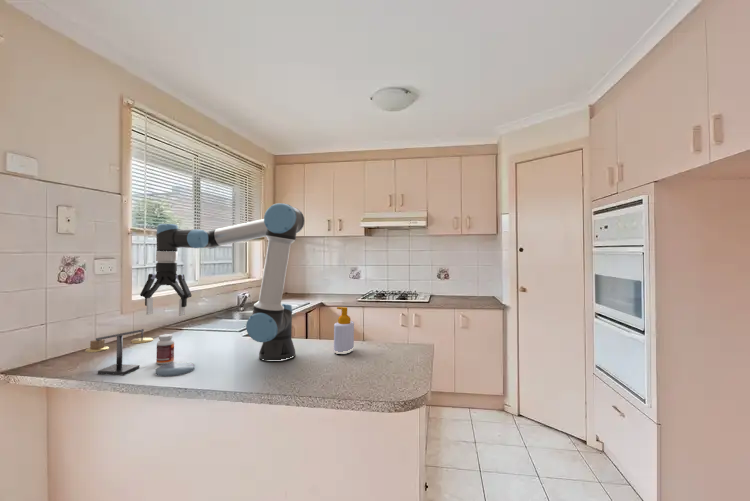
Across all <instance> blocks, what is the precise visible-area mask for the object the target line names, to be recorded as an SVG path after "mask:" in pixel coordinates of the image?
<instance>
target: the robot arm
mask: <svg viewBox="0 0 750 501" xmlns="http://www.w3.org/2000/svg"><path fill="white" fill-rule="evenodd" d="M305 222H306V221H305V216H304V214H303V212H302V211H301V210H300V209H299V208H297V207H294V206H292V205H290V204H287V203H280V202H278V203H277V202H276V203H274V204H272V205H270V206H269V207H268V208H267V210H265V212H264V215H263V218H262V219H257V220H252V221H248V222H243V223H238V224H235V225H229V226H224V227H220V228H215V229H211V230H204V229H200V228H199V229H198V228H194V229H193V228H192V229H190V228H187V229H185V228H184V229H183V228H182V229H181V228H179V226H178V224H175V223H174V224H173V223H159V224H157V226H156V234H155V235H156V237H155V238H156V252H155V262H156V263H155V272H156V273H149V274H148V276H147V280H146V282H145V284H144V286H143V287H142V290H141V292H140V297H143V298H144V306H146V314H145V315H151V314H152V315H153V313H154V297H153V296H154V295H155V293H156V291H157V290H158V289H159V288H160V287H161V286H170V287H172V288H173V289H174V291H175V293H176V294H177V295H178V296H179V297H180V299H178V317H179V316H185V312H186V310H185V309H186V307H187V303H188V302H187V300H188V298H191V297H192V292H191V290H190V288H189V286H188V284H187V281H186V279H185V274H183V273H182V274H177V271H178V263H177V261H178V248H183V249H207V250H208V249H209V250H211V249H216V248H218V247H221V246H226V245H231V244H236V243H241V242H245V241H246V242H247V241H250V240H254V239H255V240H256V239H260V238H264V237H265V238H267V240H268V242H267V243H268V244H267V248H266V253H265V254H266V256H265V260H264V268H263V272H262V278H261V284H260V291H259V297H258V301H257V302H255V303H254V304H253V308H252V313H251V314H252V315H250V316H249V318H248V319H247V321H246V325H245V329H246V332H247V335H248V336H249V337H250V338H251V340H253V341H254V342H257V343H261V346H260V349H259V352H258V353H259V354H258V359H259V358H261V359H264V360H281V359H286V358H290V357H292V356H294V355H295V356H296V349H295V346H294V342H293V338H292V336H293V335H292V330H293V329H292V326H293V325H292V324H293V306H292V305H291V304H289V303H282V299H283V293H284V288H285V281H286V275H287V270H288V269H287V268H288V263H289V257H290V253H291V252H290V251H291V250H290V249H291V245H292V244H293V243H294V242H296V240H297V239H296V238H297V234H299V233H300V232H301V231H302V230H303V228H304V227H305ZM155 279H156V281H155Z"/></svg>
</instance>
